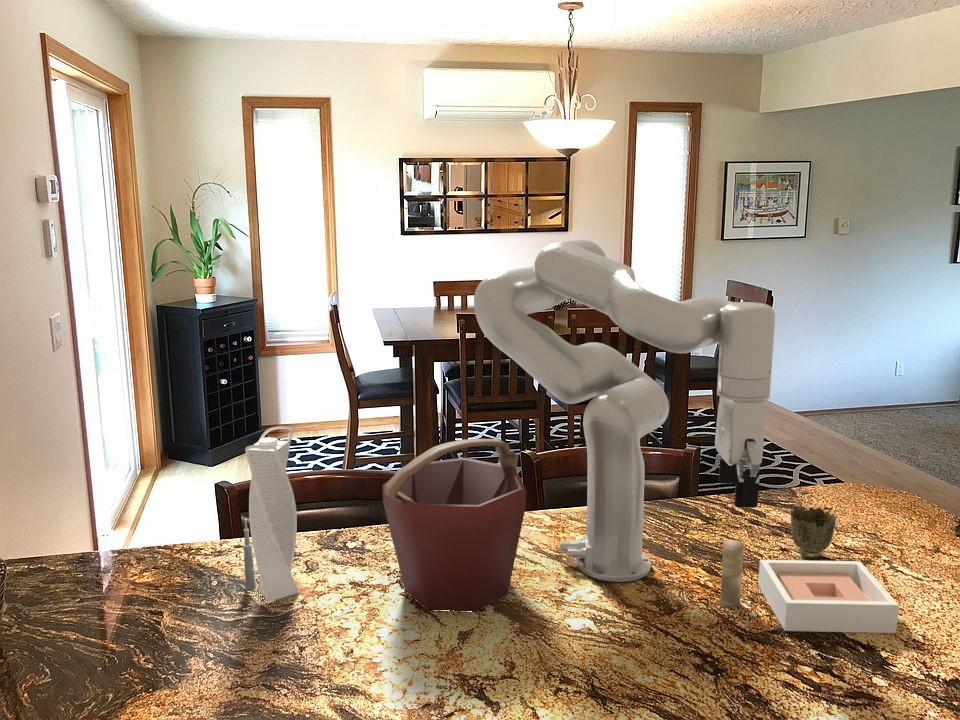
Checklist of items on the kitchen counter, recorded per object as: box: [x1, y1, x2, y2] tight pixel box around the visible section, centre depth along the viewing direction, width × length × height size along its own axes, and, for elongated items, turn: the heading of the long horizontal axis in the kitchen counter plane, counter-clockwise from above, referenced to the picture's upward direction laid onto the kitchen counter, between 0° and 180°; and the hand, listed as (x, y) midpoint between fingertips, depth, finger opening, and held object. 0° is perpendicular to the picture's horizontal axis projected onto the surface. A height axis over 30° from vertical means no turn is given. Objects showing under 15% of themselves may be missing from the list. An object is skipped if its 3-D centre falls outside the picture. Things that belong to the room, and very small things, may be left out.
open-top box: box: [757, 559, 900, 634], centre depth 125 cm, size 16×14×4 cm
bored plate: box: [777, 573, 869, 601], centre depth 125 cm, size 11×11×2 cm
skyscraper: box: [242, 425, 301, 606], centre depth 130 cm, size 8×8×28 cm
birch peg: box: [719, 539, 745, 609], centre depth 126 cm, size 3×3×10 cm
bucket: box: [382, 438, 527, 613], centre depth 130 cm, size 24×22×25 cm
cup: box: [790, 506, 837, 561], centre depth 142 cm, size 8×7×8 cm
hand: (737, 494), depth 124 cm, fingers open, 9 cm apart
